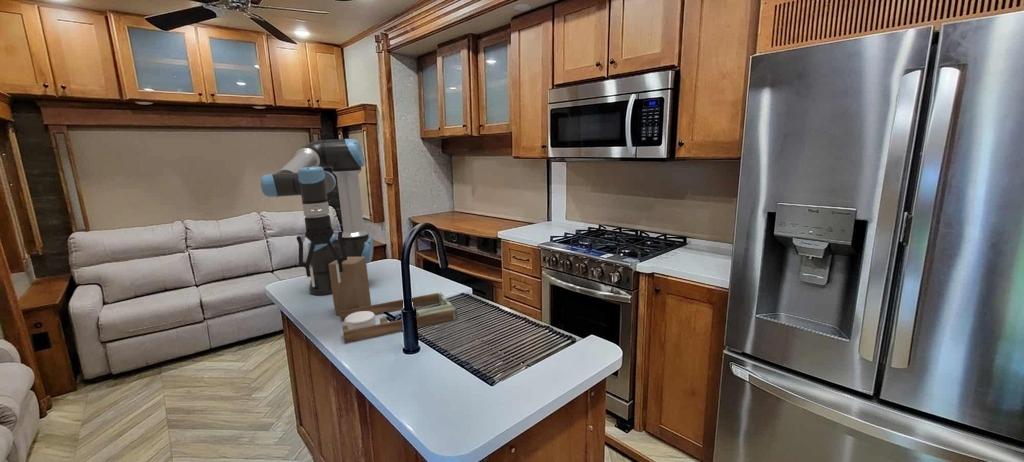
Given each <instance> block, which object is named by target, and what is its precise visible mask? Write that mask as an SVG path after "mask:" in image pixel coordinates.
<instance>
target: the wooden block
mask: <svg viewBox="0 0 1024 462" xmlns="http://www.w3.org/2000/svg"><path fill="white" fill-rule="evenodd" d="M336 262H338V261H337V260H335V261H333V262H331V263H330V264H329V272H330V279H331V287H332V294H331V295H332V301H333V307H334V314H335V315H336V316H338V315H339V316H340V311H343V310H349V309H354V308H359V307H365V306H370V305H372V301H371V292H370V284H369V276H368V267H367V266H368V265H367V263H366V257H347V260H345V261H343V262H342V267H343V272H339V273H340V280H341V283H338V277H337V270H336Z"/></svg>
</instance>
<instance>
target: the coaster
mask: <svg viewBox="0 0 1024 462" xmlns="http://www.w3.org/2000/svg"><path fill="white" fill-rule="evenodd" d="M375 316H376V315H375V314H374V313H373V312H370V311H360V312H355V313H352V314H350V315H348V316H347V317H346V318H345V321H344V325H347V327H348V330H353V329H358V328H363V327H368V326H373V325H376V317H375Z"/></svg>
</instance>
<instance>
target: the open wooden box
mask: <svg viewBox="0 0 1024 462" xmlns="http://www.w3.org/2000/svg"><path fill="white" fill-rule="evenodd" d="M411 298H412V302H413V306H414V307H413V308H417V307H423V306H428V305H434V304H440V305H438V306H433V307H428V308H423V309H418V310H415V311H416V312H415V313H416V316H417V324H418V328H422V327H423V328H424V327H427V326H431V325H436V324H442V323H444V322H445V323H447V322H450V321H454V320H457V319H458V315H457V314H458V313H457V308H456V307H455V306H454V305H453V304H452V303H451V302H450V301H449V300H448V299H447V298H446V296H445V295H444V294H443V293H442V292H435V293H430V294H425V295H420V296H414V297H413V296H412V297H411ZM402 308H403V299H398V300H393V301H392V300H391V301H387V302H382V303H376V304H371V305H370V306H365V307H359V308H354V309H349V310H343V311H340V315H339V316H340V322H341V323H342V322H345V318H346V317H347V316H348V315H350V314H352V313H355V312H360V311H370V312H373V313H374V314H375V316H377V315H382V314H385V313H384V312H388V313H391V312H392V313H393V312H397V311H401V310H402ZM402 311H403V310H402ZM379 321H380V322H379V324H378V323H377V324H374V325H373V326H368V327H363V328H358V329H353V330H348V327H347V325H345V324H344V325H342V335H343V339H344V344H348V343H354V342H359V341H364V340H366V339H367V340H368V339H371V338H377V337H382V336H386V335H391V334H395V333H400V332H403V331H402V319H398V320H392V321H388V319H387V317H386V316H384V317H383V316H382V317H379ZM418 328H417V329H418Z"/></svg>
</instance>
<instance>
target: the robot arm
mask: <svg viewBox="0 0 1024 462" xmlns="http://www.w3.org/2000/svg"><path fill="white" fill-rule="evenodd" d="M365 163H366V161H365V155H364V151H363V148H362V145H361V143H360V142H359V141H358V140H357V139H356V138H355V139H354V138H339V139H319V140H314V141H312V142H309V143H307V144H305V145H304V146H302V147H300V148H299V149H297V150H296V152H295V154H294V156H293V158H292V159H290V161H288V162H287V163H286V164H285V165H283V167H282V168H281V169H280V170H278V171H277V172H276V173H269V174H264V175H262V176H261V179H260V188H261V192H262V194H263V195H264V196H265V197H268V198H272V197H273V198H274V197H275V198H278V197H292V196H293V197H294V196H301V205H302V211H303V216H304V223H305V234H301V235H296V240H297V243H298V267H300V268H304V269H305V274H306V277H307V278H310V281H309V288H308V290H309V294H311V295H314V296H326V295H333V294H332V287H331V279H330V272H329V264H330V263H331V262H333V261H335V260H337V261H338V262H336V270H337V277H338V283H341V280H340V273H339V272H343V267H342V262H343V261H345V260H347V257H366V264H369V263H371V261H372V260H373V256H374V255H373V254H374V238H373V237H372V236H370V235H369V232H368V231H367V230H366V229H365V222H364V217H363V208H362V207H363V205H362V197H361V189H360V181H359V180H360V179H359V174H361V172H362V168H363V167H365ZM324 169H331V172H332V173H331V172H330V171H326V170H324ZM334 175H335V176H336V178H335V176H334ZM336 179H337V180H336ZM336 186H337V189H338V197H339V204H340V205H339V206H340V213H341V222H342V223H341V224H342V229H343V231H342V230H334V229H333V228H332V222H331V216H330V215H329V214H330V207H329V206H330V205H329V201H328V194H329V193H331V192H332V191H333V190H334V189H335V187H336ZM305 239H307V240H308V241H310V242H308V243H307V250H308V252H307V257H306V261H305V262H304V242H305Z"/></svg>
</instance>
